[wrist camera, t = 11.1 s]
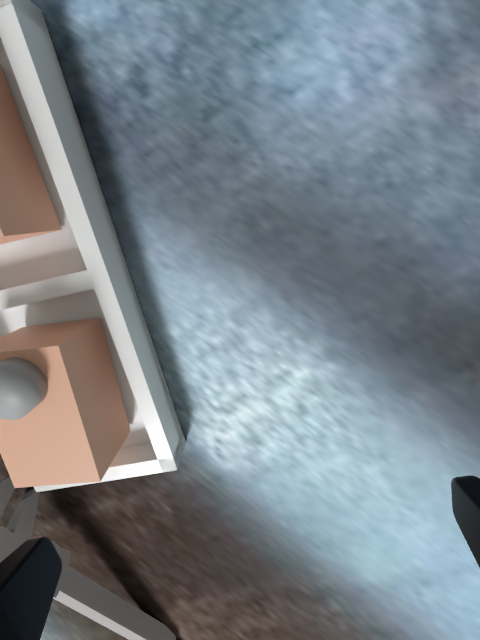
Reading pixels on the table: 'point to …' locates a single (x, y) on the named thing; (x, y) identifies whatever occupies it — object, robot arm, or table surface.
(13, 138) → the block
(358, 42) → the table surface
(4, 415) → the orange block with knob
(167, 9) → the table surface
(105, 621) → the caliper
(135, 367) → the housing
